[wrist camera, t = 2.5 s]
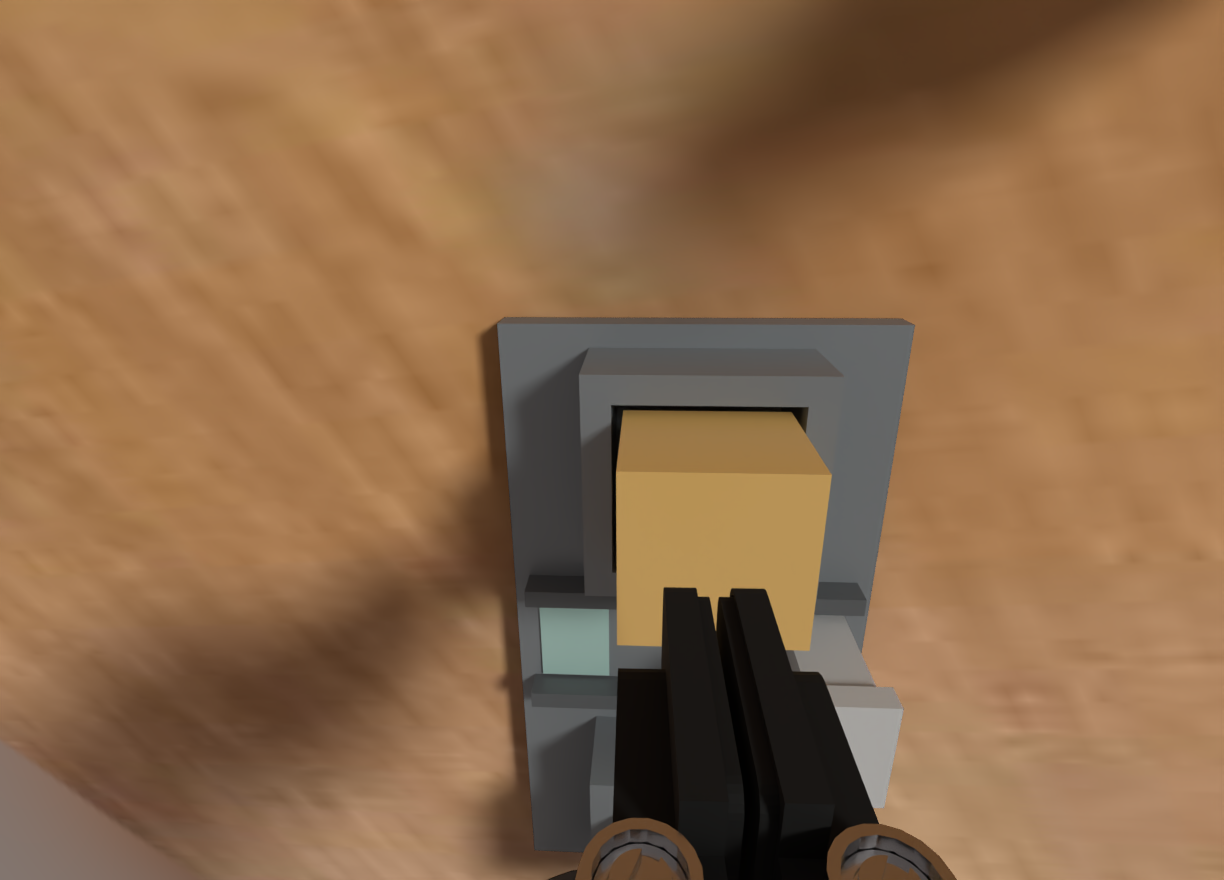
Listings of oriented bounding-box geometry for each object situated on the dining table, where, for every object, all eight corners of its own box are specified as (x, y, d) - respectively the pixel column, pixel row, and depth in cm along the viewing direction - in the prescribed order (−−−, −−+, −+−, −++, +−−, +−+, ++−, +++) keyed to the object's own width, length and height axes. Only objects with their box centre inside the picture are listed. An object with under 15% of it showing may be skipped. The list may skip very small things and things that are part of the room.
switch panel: (901, 318, 19) (962, 349, 16) (821, 840, 27) (848, 943, 24) (504, 317, 20) (471, 347, 16) (538, 828, 28) (521, 926, 24)
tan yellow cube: (791, 412, 17) (831, 474, 13) (777, 557, 18) (809, 650, 15) (623, 410, 17) (616, 471, 13) (623, 554, 19) (616, 644, 15)
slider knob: (851, 603, 21) (903, 709, 17) (838, 689, 23) (883, 807, 18) (772, 601, 22) (803, 705, 17) (763, 686, 23) (791, 804, 19)
